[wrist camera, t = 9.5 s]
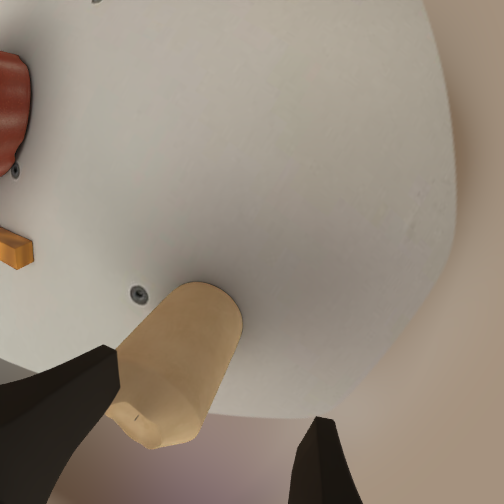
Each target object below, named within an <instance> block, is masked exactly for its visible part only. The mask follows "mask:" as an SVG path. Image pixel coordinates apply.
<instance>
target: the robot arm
mask: <svg viewBox="0 0 504 504" xmlns="http://www.w3.org/2000/svg"><path fill="white" fill-rule="evenodd" d="M120 388H121V387H120V378H119V368H118V358H117V351H116V350H114V349H112V348H110V347H108V346H106V345H101V346H99V347H97V348H95V349H93V350H91V351H89V352H86V353H84V354H82V355H80V356H78V357H76V358H74V359H72V360H70V361H67V362H65V363H63V364H61V365H58V366H56V367H54V368H51V369H49V370H46V371H44V372H41V373H39V374H36V375H33V376H31V377H28V378H25V379H21V380H18V381H14V382H10V383H7V384H2V385H0V504H46V503H47V501H48V498H49V496H50V494H51V492H52V490H53V488H54V486H55V484H56V482H57V480H58V478H59V476H60V474H61V473H62V471H63V469H64V467H65V466H66V464H67V462H68V461H69V459H70V457H71V456H72V454H73V452H74V451H75V449H76V448H77V447H78V445H79V444H80V443H81V442H82V441H83V439H84V438H85V437H86V436H87V434H88V433H89V432H90V431H91V430H92V428H93V427H94V426H95V425H96V423H97V422H98V421H99V419H100V418H101V417H102V416H103V415H104V413H105V412H106V411H107V410H108V408H109V407H110V405H111V403H112V402H113V400H114V398H115V397H116V395H117V393H118V392H119V390H120ZM288 504H363V503H362V501H361V498H360V496H359V494H358V491H357V489H356V487H355V484H354V482H353V479H352V476H351V473H350V471H349V468H348V465H347V462H346V459H345V456H344V453H343V450H342V446H341V443H340V440H339V436H338V433H337V429H336V425H335V422H334V421H333V420H332V419H327V418H322V417H317V416H316V417H315V419H314V421H313V422H312V424H311V426H310V428H309V430H308V431H307V433H306V434H305V436H304V438H303V440H302V441H301V443H300V444H299V446H298V448H297V452H296V456H295V461H294V465H293V469H292V475H291V484H290V492H289V500H288Z"/></svg>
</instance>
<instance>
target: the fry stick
mask: <svg viewBox="0 0 504 504" xmlns="http://www.w3.org/2000/svg"><path fill="white" fill-rule="evenodd" d="M0 260H1V261H2V262H4V263H6V264H8V265H9V266H11V267H13V268H14V269H16V270H18V269H20V268H22V267H24V266H26V265H28V264H30V263H32V262H34V260H33V247H32V241H30V240H28V239H26V238H23V237H21V236H19V235H17V234H14V233H12V232H10V231H8V230H6V229H3V228H1V227H0Z"/></svg>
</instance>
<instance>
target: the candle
mask: <svg viewBox="0 0 504 504" xmlns="http://www.w3.org/2000/svg"><path fill="white" fill-rule="evenodd" d="M242 325H243V323H242V317H241V313H240V311H239V309H238V307H237V305H236V303H235V302H234V301H233V300H232V298H231V297H230V296H229V295H227V294H226V293H225V292H224V291H222V290H221V289H219V288H217V287H215V286H213V285H210V284H207V283H202V282H190V283H186V284H183V285H181V286H179V287H178V288H176V289H174V290H173V291H172V292H171V293H170V294H169V295H168V296H167V297H166V298H165V299H164V300H163V301H162V302H161V303H160V304H159V305H158V306H157V307H156V308H155V309H154V310H153V311H152V312H151V313H150V314H149V315H148V316H147V317H146V318H145V319H144V320H143V321H142V322H141V323H140V324H139V325H138V326H137V327H136V328H135V329H134V331H133V332H132V333H131V334H130V335H129V336H128V337H127V338H126V339H125V340H124V341H123V342H122V343H121V344H120V345H119V346H118V347H117V348H116V349H115V350H116V351H117V358H118V368H119V378H120V387H121V388H120V390H119V392H118V393H117V395H116V397H115V398H114V400H113V402H112V403H111V405H110V407H109V408H108V410H107V411H106V412H105V415H106V416H107V417H110V418H112V419H113V420H114V421H115V422H116V423H117V424H118V425H119V426H120V427H121V428H122V429H123V431H124V432H125V433H126V434H127V435H128V436H129V437H130V438H132V439H133V440H135V441H136V442H139V443H140V444H142V445H143V446H144V447H146V448H147V449H156V448H160V447H164V446H169V445H175V444H180V443H185V442H188V441H190V440H192V439H194V438H195V437H196V436H197V435H198V433H199V431H200V429H201V426H202V424H203V422H204V419H205V418H206V415H207V413H208V411H209V409H210V406H211V404H212V402H213V400H214V397H215V395H216V393H217V391H218V388H219V386H220V384H221V381H222V379H223V377H224V375H225V372H226V370H227V368H228V365H229V363H230V361H231V358H232V356H233V354H234V352H235V349H236V347H237V344H238V342H239V339H240V337H241V333H242Z"/></svg>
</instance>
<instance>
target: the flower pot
mask: <svg viewBox="0 0 504 504" xmlns="http://www.w3.org/2000/svg"><path fill="white" fill-rule="evenodd" d="M29 108H30V77H29V72H28V69H27V66H26V65H25V64H24V63H23V62H22V61H21V60H20V59H19V56H18V55H16V54H11V53H7V52H3V51H0V177H1V176H3V175H4V174H5V173H6V172H7V171H8V170H9V169H10V168H11V166H12V165H13V163H14V162H15V156H14V155H15V152H16V150H17V148H18V146H19V145H20V143H21V142H22V141H23V139H24V136H25V132H26V128H27V123H28V116H29Z"/></svg>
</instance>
